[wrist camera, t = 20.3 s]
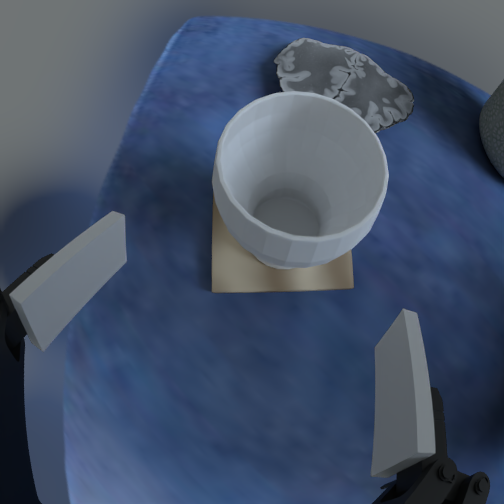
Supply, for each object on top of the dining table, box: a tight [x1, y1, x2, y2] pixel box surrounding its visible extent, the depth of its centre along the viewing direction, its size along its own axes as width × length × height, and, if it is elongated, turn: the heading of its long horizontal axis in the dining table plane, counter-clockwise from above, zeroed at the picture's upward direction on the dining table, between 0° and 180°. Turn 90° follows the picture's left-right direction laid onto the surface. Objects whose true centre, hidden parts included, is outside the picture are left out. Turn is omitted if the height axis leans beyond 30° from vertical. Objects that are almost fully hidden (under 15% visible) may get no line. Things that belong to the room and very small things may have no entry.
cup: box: [212, 91, 389, 270], centre depth 22 cm, size 11×11×15 cm
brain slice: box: [274, 38, 414, 133], centre depth 34 cm, size 20×17×3 cm
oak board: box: [212, 191, 354, 293], centre depth 30 cm, size 14×12×2 cm
